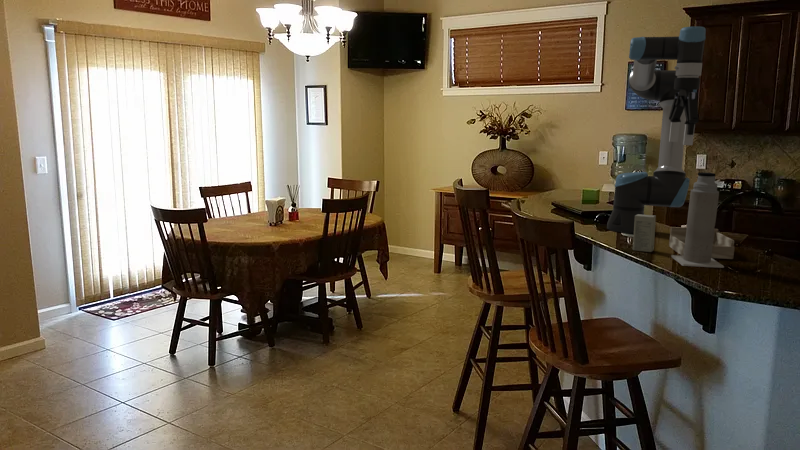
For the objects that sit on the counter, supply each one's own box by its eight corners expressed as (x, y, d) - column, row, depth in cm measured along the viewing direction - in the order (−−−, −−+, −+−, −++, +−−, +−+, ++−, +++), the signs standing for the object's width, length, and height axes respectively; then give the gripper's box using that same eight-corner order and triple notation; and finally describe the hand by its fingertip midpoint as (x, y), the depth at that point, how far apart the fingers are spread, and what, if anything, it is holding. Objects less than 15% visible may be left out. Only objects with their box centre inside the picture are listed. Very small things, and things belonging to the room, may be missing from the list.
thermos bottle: (706, 258, 195) (716, 171, 190) (714, 264, 187) (725, 174, 182) (680, 256, 197) (689, 170, 191) (686, 262, 189) (696, 173, 184)
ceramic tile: (671, 256, 199) (671, 254, 198) (709, 258, 197) (709, 256, 197) (682, 265, 187) (683, 263, 187) (723, 267, 185) (723, 266, 185)
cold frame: (668, 246, 214) (670, 226, 213) (715, 248, 212) (717, 228, 211) (683, 256, 199) (685, 235, 198) (733, 258, 197) (735, 238, 196)
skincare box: (653, 250, 207) (657, 215, 205) (651, 252, 204) (654, 217, 201) (634, 247, 211) (637, 213, 209) (631, 249, 207) (634, 215, 205)
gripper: (663, 77, 206) (656, 140, 211) (689, 76, 182) (681, 146, 187) (686, 78, 206) (679, 140, 210) (715, 76, 181) (707, 146, 186)
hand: (680, 143), depth 198 cm, fingers open, 13 cm apart
